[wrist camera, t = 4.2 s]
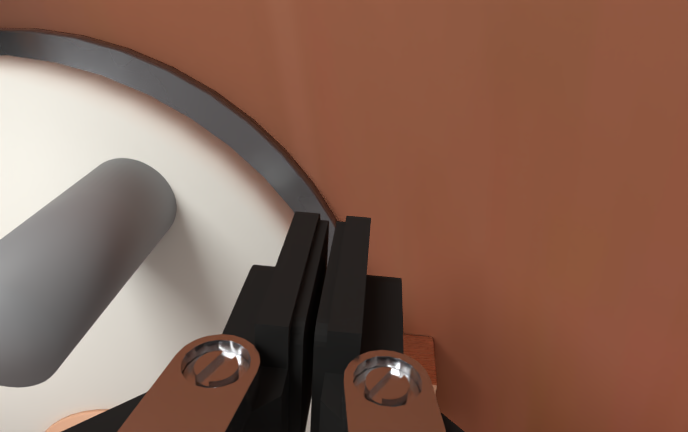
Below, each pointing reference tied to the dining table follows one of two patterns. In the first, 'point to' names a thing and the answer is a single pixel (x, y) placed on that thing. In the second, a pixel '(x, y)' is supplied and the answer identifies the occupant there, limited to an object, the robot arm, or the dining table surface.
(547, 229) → the dining table surface
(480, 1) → the dining table surface
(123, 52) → the turntable base
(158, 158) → the disc
